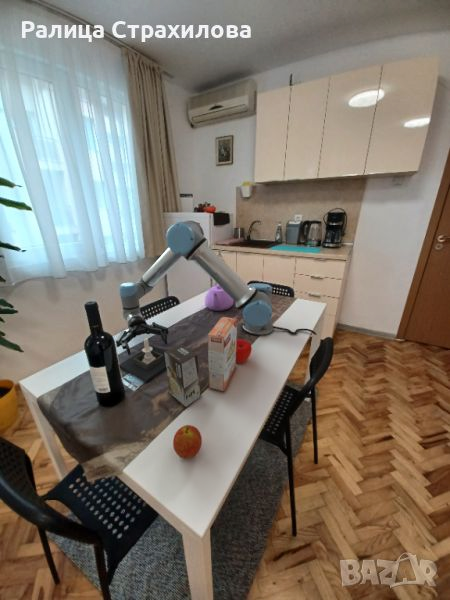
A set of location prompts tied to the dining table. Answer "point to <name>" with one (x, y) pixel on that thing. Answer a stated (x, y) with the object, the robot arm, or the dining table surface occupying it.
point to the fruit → (187, 441)
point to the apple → (242, 350)
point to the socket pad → (145, 365)
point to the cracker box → (222, 352)
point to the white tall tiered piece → (147, 352)
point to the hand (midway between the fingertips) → (148, 346)
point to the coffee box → (183, 374)
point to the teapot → (218, 299)
